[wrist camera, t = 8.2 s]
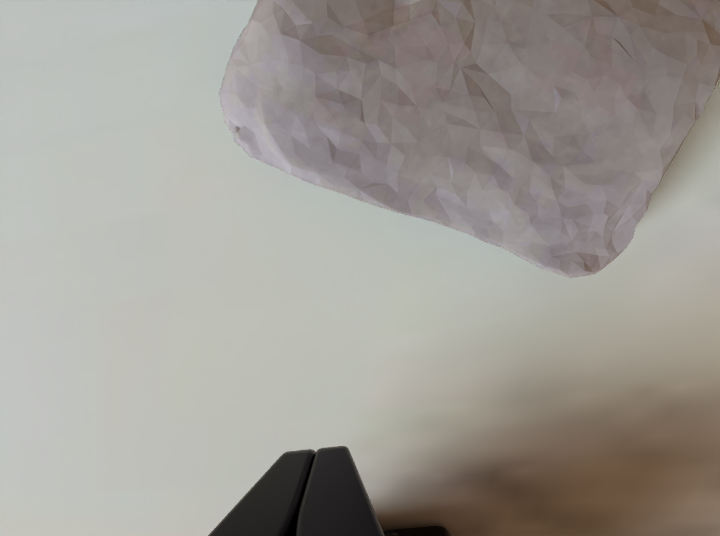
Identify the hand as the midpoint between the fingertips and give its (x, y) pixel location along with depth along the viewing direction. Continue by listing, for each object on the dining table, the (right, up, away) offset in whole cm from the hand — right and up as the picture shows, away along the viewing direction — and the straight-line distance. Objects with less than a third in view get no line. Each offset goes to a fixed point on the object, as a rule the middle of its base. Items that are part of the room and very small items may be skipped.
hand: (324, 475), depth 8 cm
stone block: (+4, +10, +10) cm, 14 cm away
